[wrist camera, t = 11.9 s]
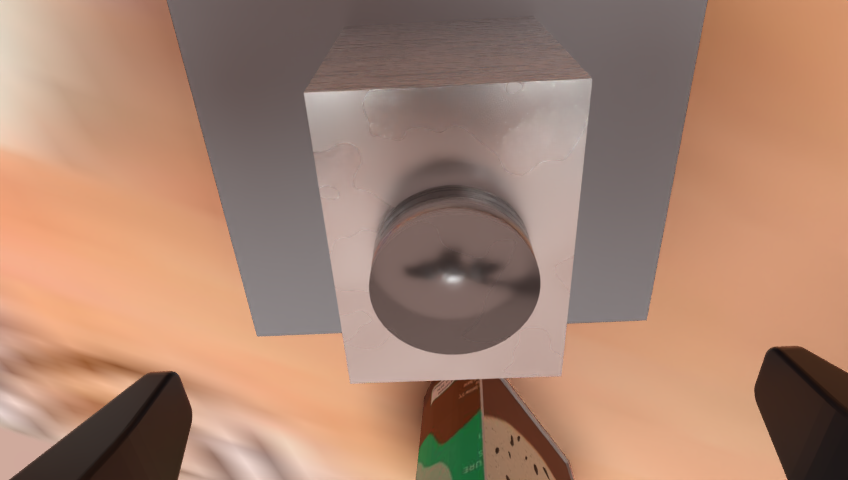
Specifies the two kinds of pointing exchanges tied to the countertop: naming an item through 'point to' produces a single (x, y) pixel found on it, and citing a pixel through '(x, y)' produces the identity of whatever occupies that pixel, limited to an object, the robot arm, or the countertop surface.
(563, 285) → the housing
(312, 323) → the stand
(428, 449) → the food container
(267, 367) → the countertop surface
